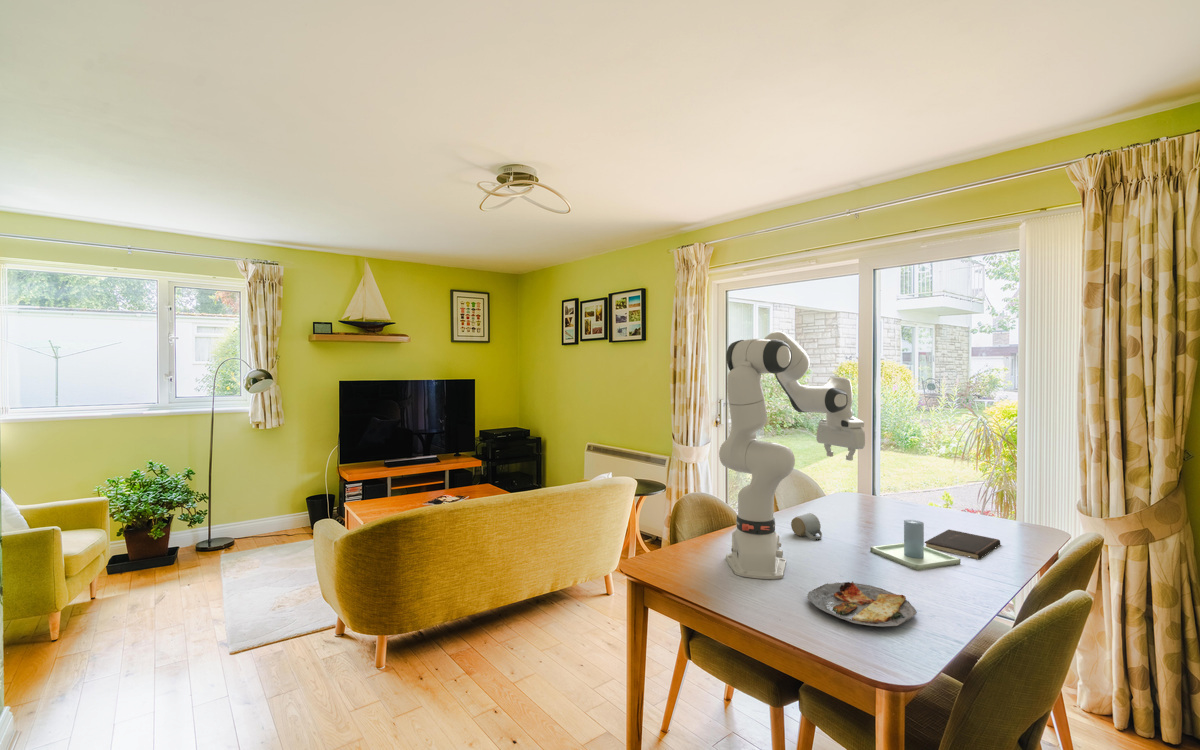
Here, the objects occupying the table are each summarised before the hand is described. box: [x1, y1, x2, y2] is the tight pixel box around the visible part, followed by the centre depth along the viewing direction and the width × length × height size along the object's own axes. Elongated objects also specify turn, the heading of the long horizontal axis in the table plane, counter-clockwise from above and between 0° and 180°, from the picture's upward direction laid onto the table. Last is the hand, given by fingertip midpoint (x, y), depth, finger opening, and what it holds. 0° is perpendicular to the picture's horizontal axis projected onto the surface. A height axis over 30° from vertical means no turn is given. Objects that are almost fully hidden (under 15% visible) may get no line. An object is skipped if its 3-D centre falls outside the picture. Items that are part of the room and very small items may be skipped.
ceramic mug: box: [790, 512, 823, 541], centre depth 196 cm, size 11×8×8 cm
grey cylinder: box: [903, 519, 925, 559], centre depth 173 cm, size 6×6×11 cm
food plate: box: [807, 581, 917, 627], centre depth 136 cm, size 25×23×4 cm
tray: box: [869, 542, 962, 571], centre depth 173 cm, size 18×18×2 cm
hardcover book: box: [924, 529, 1001, 560], centre depth 185 cm, size 16×23×2 cm
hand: (839, 458), depth 195 cm, fingers open, 8 cm apart
